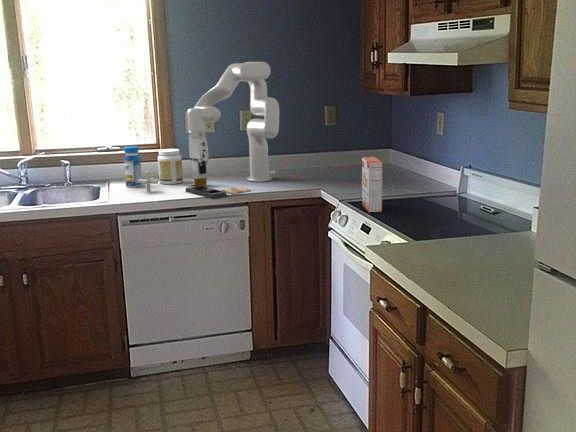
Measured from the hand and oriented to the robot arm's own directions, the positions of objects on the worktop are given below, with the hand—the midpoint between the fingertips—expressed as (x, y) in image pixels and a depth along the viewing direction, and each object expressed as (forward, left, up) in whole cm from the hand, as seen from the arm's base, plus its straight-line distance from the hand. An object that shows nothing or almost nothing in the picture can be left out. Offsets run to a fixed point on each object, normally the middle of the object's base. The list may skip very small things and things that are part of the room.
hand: (199, 172), depth 310 cm
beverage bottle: (+15, -38, -10) cm, 42 cm away
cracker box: (-30, +81, -10) cm, 87 cm away
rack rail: (+1, +5, -10) cm, 11 cm away
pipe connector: (+17, -20, -10) cm, 28 cm away
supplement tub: (-3, -32, -10) cm, 34 cm away
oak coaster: (-13, +10, -10) cm, 19 cm away
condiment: (-8, -14, -10) cm, 19 cm away
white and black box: (0, 0, -2) cm, 2 cm away
